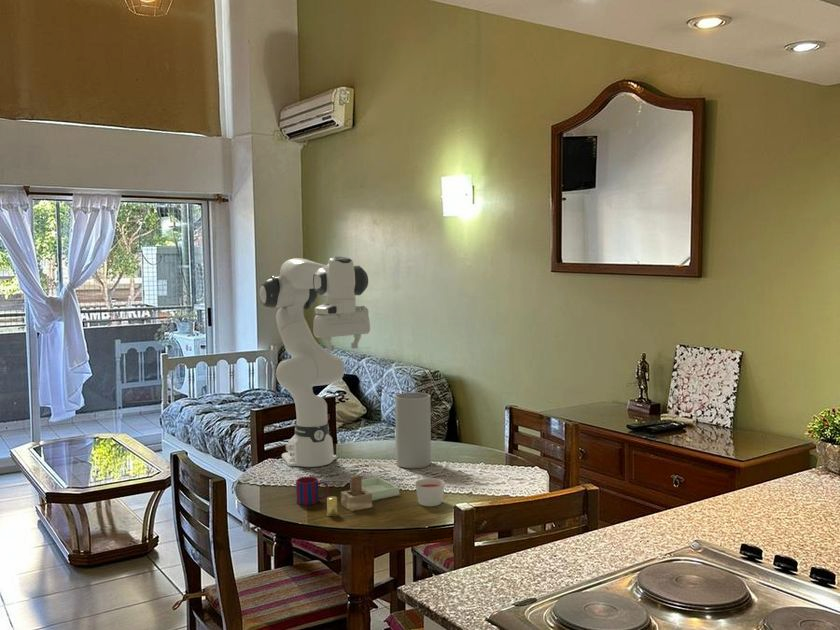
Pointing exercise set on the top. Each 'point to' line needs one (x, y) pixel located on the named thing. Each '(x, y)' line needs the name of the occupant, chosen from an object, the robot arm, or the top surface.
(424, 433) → the cylinder vase
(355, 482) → the dowel
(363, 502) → the socket block
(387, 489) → the tray
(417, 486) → the candle
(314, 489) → the mug
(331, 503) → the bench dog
